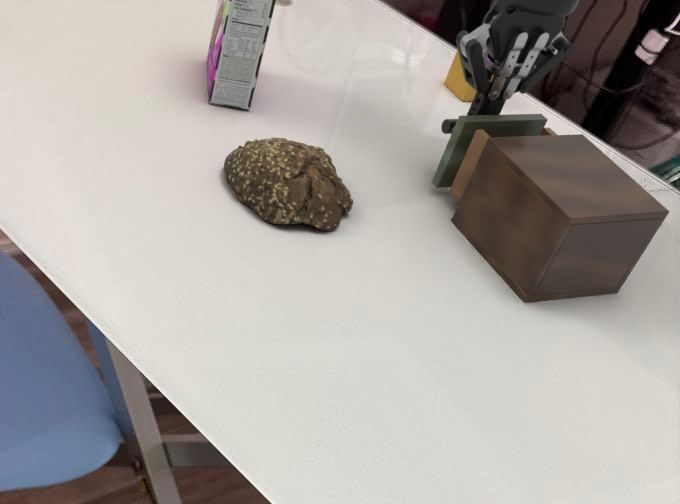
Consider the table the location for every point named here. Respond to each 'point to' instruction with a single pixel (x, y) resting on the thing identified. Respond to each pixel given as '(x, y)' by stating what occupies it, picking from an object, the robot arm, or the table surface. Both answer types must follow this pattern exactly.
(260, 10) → the candy bar box
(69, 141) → the table surface
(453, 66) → the block
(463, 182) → the drawer
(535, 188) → the cabinet
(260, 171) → the bread roll
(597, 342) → the table surface
